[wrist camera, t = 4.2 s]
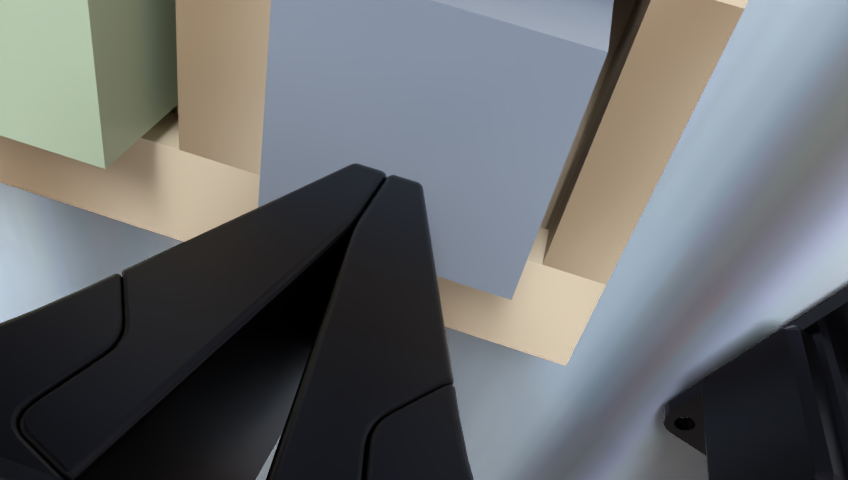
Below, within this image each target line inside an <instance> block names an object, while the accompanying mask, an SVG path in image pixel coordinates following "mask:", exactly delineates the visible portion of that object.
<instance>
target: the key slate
mask: <svg viewBox="0 0 848 480" xmlns="http://www.w3.org/2000/svg"><path fill="white" fill-rule="evenodd" d="M613 3H614V0H271V9H270V25H269V41H268V57H267V72H266V88H265V104H264V120H263V136H262V152H261V168H260V183H259V199H258V207H260V206H262V205H265V204H267V203H269V202H271V201H273V200H275V199H278V198H280V197H282V196H284V195H286V194H288V193H290V192H293V191H295V190H297V189H299V188H301V187H303V186H305V185H308V184H310V183H312V182H314V181H316V180H318V179H320V178H323V177H325V176H327V175H329V174H331V173H333V172H335V171H338V170H340V169H342V168H344V167H346V166H348V165H351V164H354V163H358V164H361V165H365V166H368V167H371V168H374V169H377V170H380V171H383V172H385V174H386V176H387V177H388V176H390V175H396V176H399V177H403V178H406V179H409V180H412V181H416V182H419V183H420V184H421V185H422V187H423V191H424V197H425V204H426V210H427V216H428V223H429V229H430V235H431V242H432V248H433V255H434V261H435V267H436V274H437V276H438V277H441V278H444V279H447V280H450V281H454V282H457V283H460V284H463V285H466V286H469V287H472V288H475V289H479V290H482V291H485V292H488V293H491V294H494V295H497V296H500V297H504V298H507V299H510V300H512V297H513V295H514V292H515V290H516V287H517V285H518V282H519V279H520V277H521V274H522V272H523V269H524V267H525V264H526V261H527V259H528V256H529V254H530V251H531V249H532V246H533V243H534V241H535V238H536V236H537V233H538V231H539V228H540V226H541V223H542V220H543V218H544V215H545V213H546V210H547V208H548V205H549V202H550V200H551V197H552V195H553V192H554V190H555V187H556V184H557V182H558V179H559V177H560V174H561V172H562V169H563V166H564V164H565V161H566V159H567V156H568V154H569V151H570V149H571V146H572V143H573V141H574V138H575V136H576V133H577V131H578V128H579V125H580V123H581V120H582V118H583V115H584V113H585V110H586V107H587V105H588V102H589V100H590V97H591V95H592V92H593V90H594V87H595V84H596V82H597V79H598V77H599V74H600V72H601V69H602V66H603V64H604V61H605V59H606V56H607V54H608V48H609V39H610V30H611V21H612V12H613Z"/></svg>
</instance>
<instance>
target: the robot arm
mask: <svg viewBox="0 0 848 480" xmlns="http://www.w3.org/2000/svg"><path fill="white" fill-rule="evenodd" d="M680 417H688V418H680ZM664 425H665V427H666V429H667V430H668V431H669V432H671V433H672V434H674V435H675V436H677V437H678V438H680V439H681V440H683V441H684V442H686V443H688V444H689V445H691V446H692V447H694V448H695V449H697V450H698V451H700V452H702V453H703V454H705V455H706V456H707V468H708V480H848V287H846V288H845V289H843V290H842V291H840V292H839V293H837V294H836V295H834V296H832V297H831V298H829V299H828V300H826V301H825V302H823V303H822V304H820V305H818V306H817V307H815V308H814V309H812V310H811V311H809V312H808V313H806V314H804V315H803V316H801V317H800V318H798V319H797V320H795V321H794V322H792V323H791V324H789V325H787V326H786V327H784V328H783V329H781V330H779V331H778V332H776V333H774V334H773V335H771V336H770V337H768V338H767V339H765V340H764V341H762V342H760V343H759V344H757V345H756V346H754V347H753V348H751V349H750V350H748V351H747V352H745V353H743V354H742V355H740V356H739V357H737V358H736V359H734V360H733V361H731V362H729V363H728V364H726V365H725V366H723V367H722V368H720V369H719V370H717V371H715V372H714V373H712V374H711V375H709V376H708V377H706V378H705V379H704V380H702V381H700V382H699V383H697V384H696V385H694V386H693V387H691V388H690V389H688V390H686V391H685V392H683V393H682V394H680V395H679V396H677V397H676V398H674V399H672V400H671V401H669V402H668V403H667V404H666V405H665V407H664ZM281 434H282V435H281ZM280 435H281V438H280V440H279V443H278V446H277V449H276V452H275V455H274V458H273V461H272V464H271V466H270V469H269V472H268V475H267V478H266V480H473V476H472V472H471V469H470V465H469V462H468V457H467V452H466V447H465V442H464V437H463V432H462V427H461V422H460V417H459V411H458V405H457V398H456V392H455V388H454V386H453V375H452V369H451V363H450V356H449V350H448V344H447V337H446V331H445V325H444V318H443V312H442V305H441V299H440V293H439V286H438V280H437V274H436V267H435V261H434V255H433V248H432V242H431V235H430V229H429V223H428V216H427V210H426V204H425V197H424V191H423V187H422V185H421V184H420V183H419V182H416V181H412V180H409V179H406V178H403V177H399V176H396V175H390V176H388V177H387V176H386V174H385V172H383V171H380V170H377V169H374V168H371V167H368V166H365V165H361V164H358V163H354V164H351V165H348V166H346V167H344V168H342V169H340V170H338V171H335V172H333V173H331V174H329V175H327V176H325V177H323V178H320V179H318V180H316V181H314V182H312V183H310V184H308V185H305V186H303V187H301V188H299V189H297V190H295V191H293V192H290V193H288V194H286V195H284V196H282V197H280V198H278V199H275V200H273V201H271V202H269V203H267V204H265V205H262V206H260V207H258V208H256V209H254V210H252V211H250V212H247V213H245V214H243V215H241V216H239V217H237V218H235V219H232V220H230V221H228V222H226V223H224V224H222V225H220V226H217V227H215V228H213V229H211V230H209V231H207V232H205V233H202V234H200V235H198V236H196V237H194V238H192V239H190V240H187V241H185V242H183V243H181V244H179V245H177V246H175V247H172V248H170V249H168V250H166V251H164V252H162V253H160V254H157V255H155V256H153V257H151V258H149V259H147V260H144V261H142V262H140V263H138V264H136V265H134V266H132V267H129V268H127V269H125V270H124V271H123V272H122V277H121V275H119V274H114V275H112V276H110V277H107V278H105V279H103V280H101V281H99V282H97V283H94V284H92V285H90V286H88V287H86V288H84V289H81V290H79V291H77V292H75V293H72V294H70V295H68V296H65V297H63V298H61V299H59V300H56V301H54V302H52V303H49V304H47V305H45V306H43V307H40V308H38V309H36V310H33V311H31V312H28V313H26V314H23V315H21V316H18V317H15V318H13V319H10V320H8V321H5V322H2V323H0V480H255V479H256V477H257V476H258V474H259V472H260V470H261V469H262V467H263V465H264V463H265V462H266V460H267V458H268V456H269V455H270V453H271V451H272V449H273V448H274V446H275V444H276V442H277V441H278V439H279V437H280Z"/></svg>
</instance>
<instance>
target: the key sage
mask: <svg viewBox="0 0 848 480" xmlns="http://www.w3.org/2000/svg"><path fill="white" fill-rule="evenodd" d="M177 105H178V81H177V40H176V0H0V135H1V136H4V137H7V138H10V139H13V140H16V141H19V142H23V143H26V144H29V145H32V146H35V147H38V148H41V149H44V150H48V151H51V152H54V153H57V154H60V155H63V156H66V157H69V158H73V159H76V160H79V161H82V162H85V163H88V164H91V165H94V166H97V167H101V168H104V169H106V168H107V167H108V166H109V165H110V164H111V163H113V162H114V161H115V160H116V159H117V158H118V157H119V156H120V155H122V154H123V153H124V152H125V151H126V150H127V149H128V148H129V147H131V146H132V145H133V144H134V143H135V142H136V141H137V140H138V139H140V138H141V137H142V136H143V135H144V134H145V133H146V132H147V131H149V130H150V129H151V128H152V127H153V126H154V125H155V124H156V123H158V122H159V121H160V120H161V119H162V118H163V117H164V116H165V115H167V114H168V113H169V112H170V111H171V110H172V109H173V108H174V107H176V106H177Z"/></svg>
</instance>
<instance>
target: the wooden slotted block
mask: <svg viewBox="0 0 848 480" xmlns="http://www.w3.org/2000/svg"><path fill="white" fill-rule="evenodd" d="M747 2H748V0H614V3H613V12H612V21H611V30H610V39H609V48H608V54H607V56H606V59H605V61H604V64H603V66H602V69H601V72H600V74H599V77H598V79H597V82H596V84H595V87H594V90H593V92H592V95H591V97H590V100H589V102H588V105H587V107H586V110H585V113H584V115H583V118H582V120H581V123H580V125H579V128H578V131H577V133H576V136H575V138H574V141H573V143H572V146H571V149H570V151H569V154H568V156H567V159H566V161H565V164H564V166H563V169H562V172H561V174H560V177H559V179H558V182H557V184H556V187H555V190H554V192H553V195H552V197H551V200H550V202H549V205H548V208H547V210H546V213H545V215H544V218H543V220H542V223H541V226H540V228H539V231H538V233H537V236H536V238H535V241H534V243H533V246H532V249H531V251H530V254H529V256H528V259H527V261H526V264H525V267H524V269H523V272H522V274H521V277H520V279H519V282H518V285H517V287H516V290H515V292H514V295H513V297H512V300H510V299H507V298H504V297H500V296H497V295H494V294H491V293H488V292H485V291H482V290H479V289H475V288H472V287H469V286H466V285H463V284H460V283H457V282H454V281H450V280H447V279H444V278H441V277H438V276H437V280H438V286H439V293H440V299H441V305H442V312H443V318H444V325H445V327H448V328H451V329H454V330H457V331H460V332H463V333H466V334H469V335H472V336H475V337H478V338H481V339H485V340H488V341H491V342H494V343H497V344H500V345H503V346H506V347H509V348H512V349H515V350H518V351H522V352H525V353H528V354H531V355H534V356H537V357H540V358H543V359H546V360H549V361H552V362H555V363H558V364H562V365H565V366H566V365H567V363H568V361H569V359H570V357H571V355H572V353H573V351H574V349H575V347H576V345H577V343H578V341H579V339H580V337H581V335H582V333H583V331H584V329H585V327H586V325H587V323H588V321H589V319H590V317H591V315H592V313H593V311H594V309H595V307H596V305H597V303H598V301H599V299H600V297H601V295H602V293H603V291H604V289H605V287H606V285H607V283H608V281H609V279H610V277H611V275H612V273H613V271H614V269H615V267H616V265H617V263H618V261H619V259H620V257H621V255H622V253H623V251H624V249H625V247H626V245H627V243H628V241H629V239H630V237H631V235H632V233H633V231H634V229H635V227H636V225H637V223H638V221H639V219H640V217H641V215H642V213H643V211H644V209H645V207H646V205H647V203H648V201H649V199H650V197H651V195H652V193H653V191H654V189H655V187H656V185H657V183H658V181H659V179H660V177H661V175H662V173H663V171H664V169H665V167H666V165H667V163H668V161H669V159H670V157H671V155H672V153H673V151H674V149H675V147H676V145H677V143H678V141H679V139H680V137H681V135H682V133H683V131H684V129H685V127H686V125H687V123H688V121H689V119H690V117H691V115H692V113H693V111H694V109H695V107H696V105H697V103H698V101H699V99H700V97H701V95H702V93H703V91H704V89H705V87H706V85H707V83H708V81H709V79H710V77H711V75H712V73H713V71H714V69H715V67H716V65H717V63H718V61H719V59H720V57H721V55H722V53H723V51H724V49H725V47H726V45H727V42H728V40H729V38H730V36H731V34H732V32H733V30H734V28H735V26H736V24H737V22H738V20H739V18H740V16H741V14H742V12H743V10H744V8H745V6H746V4H747ZM270 9H271V0H176V40H177V81H178V105H177V106H176V107H174V108H173V109H172V110H171V111H170V112H169V113H168V114H167V115H165V116H164V117H163V118H162V119H161V120H160V121H159V122H158V123H156V124H155V125H154V126H153V127H152V128H151V129H150V130H149V131H147V132H146V133H145V134H144V135H143V136H142V137H141V138H140V139H138V140H137V141H136V142H135V143H134V144H133V145H132V146H131V147H129V148H128V149H127V150H126V151H125V152H124V153H123V154H122V155H120V156H119V157H118V158H117V159H116V160H115V161H114V162H113V163H111V164H110V165H109V166H108V167H107V168H106V169H104V168H101V167H97V166H94V165H91V164H88V163H85V162H82V161H79V160H76V159H73V158H69V157H66V156H63V155H60V154H57V153H54V152H51V151H48V150H44V149H41V148H38V147H35V146H32V145H29V144H26V143H23V142H19V141H16V140H13V139H10V138H7V137H4V136H1V135H0V182H1V183H4V184H7V185H10V186H13V187H17V188H20V189H23V190H26V191H29V192H32V193H35V194H38V195H41V196H44V197H47V198H50V199H53V200H57V201H60V202H63V203H66V204H69V205H72V206H75V207H78V208H81V209H84V210H87V211H90V212H93V213H97V214H100V215H103V216H106V217H109V218H112V219H115V220H118V221H121V222H124V223H127V224H130V225H134V226H137V227H140V228H143V229H146V230H149V231H152V232H155V233H158V234H161V235H164V236H167V237H170V238H174V239H177V240H180V241H183V242H185V241H187V240H190V239H192V238H194V237H196V236H198V235H200V234H202V233H205V232H207V231H209V230H211V229H213V228H215V227H217V226H220V225H222V224H224V223H226V222H228V221H230V220H232V219H235V218H237V217H239V216H241V215H243V214H245V213H247V212H250V211H252V210H254V209H256V208H258V199H259V183H260V168H261V152H262V136H263V120H264V104H265V88H266V72H267V57H268V41H269V25H270Z"/></svg>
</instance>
